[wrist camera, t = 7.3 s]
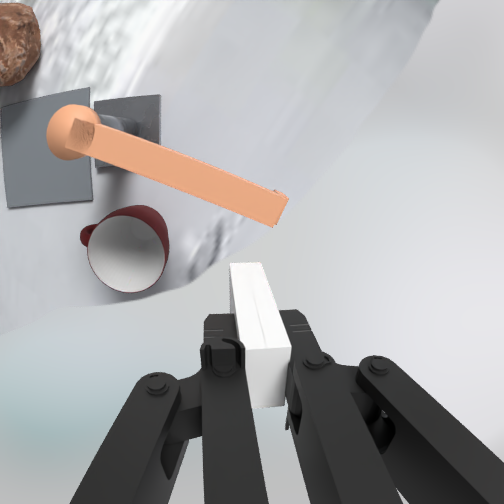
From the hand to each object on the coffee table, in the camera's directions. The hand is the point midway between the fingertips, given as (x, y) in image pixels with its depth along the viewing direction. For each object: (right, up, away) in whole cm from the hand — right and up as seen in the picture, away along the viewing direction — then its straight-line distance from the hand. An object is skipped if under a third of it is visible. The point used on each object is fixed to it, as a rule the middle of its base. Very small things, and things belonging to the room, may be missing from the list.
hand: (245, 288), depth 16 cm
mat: (-26, +15, +17) cm, 34 cm away
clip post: (-14, +16, +18) cm, 28 cm away
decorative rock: (-31, +29, +11) cm, 44 cm away
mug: (-14, +5, +22) cm, 27 cm away
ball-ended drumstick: (-6, +9, +8) cm, 13 cm away
